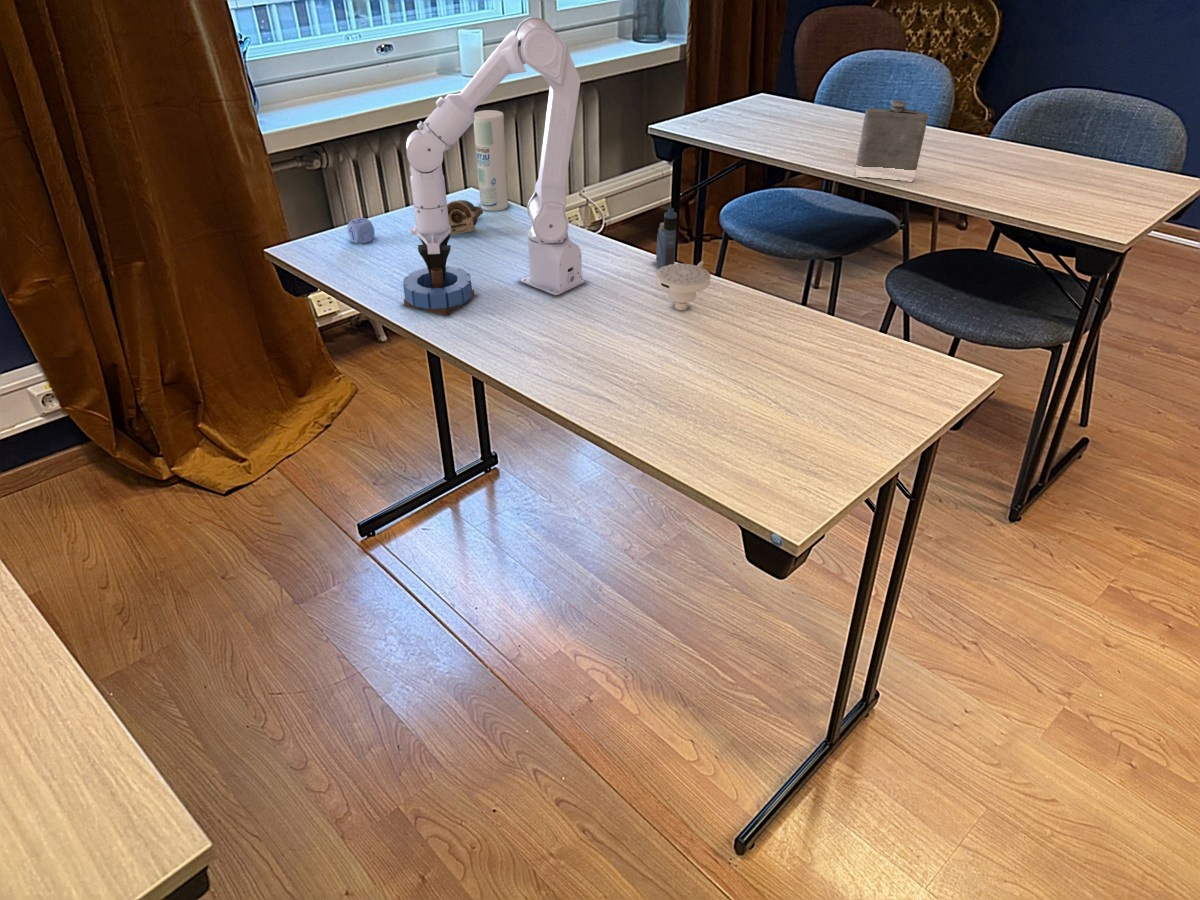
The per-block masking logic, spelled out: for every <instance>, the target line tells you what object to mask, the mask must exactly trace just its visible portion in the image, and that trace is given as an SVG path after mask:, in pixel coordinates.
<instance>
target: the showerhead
mask: <svg viewBox="0 0 1200 900" xmlns="http://www.w3.org/2000/svg"><path fill="white" fill-rule="evenodd" d="M704 264H705V262H704V261H702V260H700V262H698V264H697V265H696V264H692V263H691V264H690V263H679V262H677V263H674V264H671V265H667V266H664V267H662V268H660V267H659V269H657V270H656V271H655V282H656V284H657V285H658V287H660V288H661V289H663V290H666V291H667V297H668V299H669V300H670V301H672V302H674V308H675V310H679V311H684V310H687V309H688V304H689V303H691V302H693V301H694V300H695V299H696V296H697V293H698V292H701V291H704V290H706V289H707V288H708V287H709V286H710V284H711V273H710V272H709V271H708V270H707V269H706V268H704V267H702V266H704Z"/></svg>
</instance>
